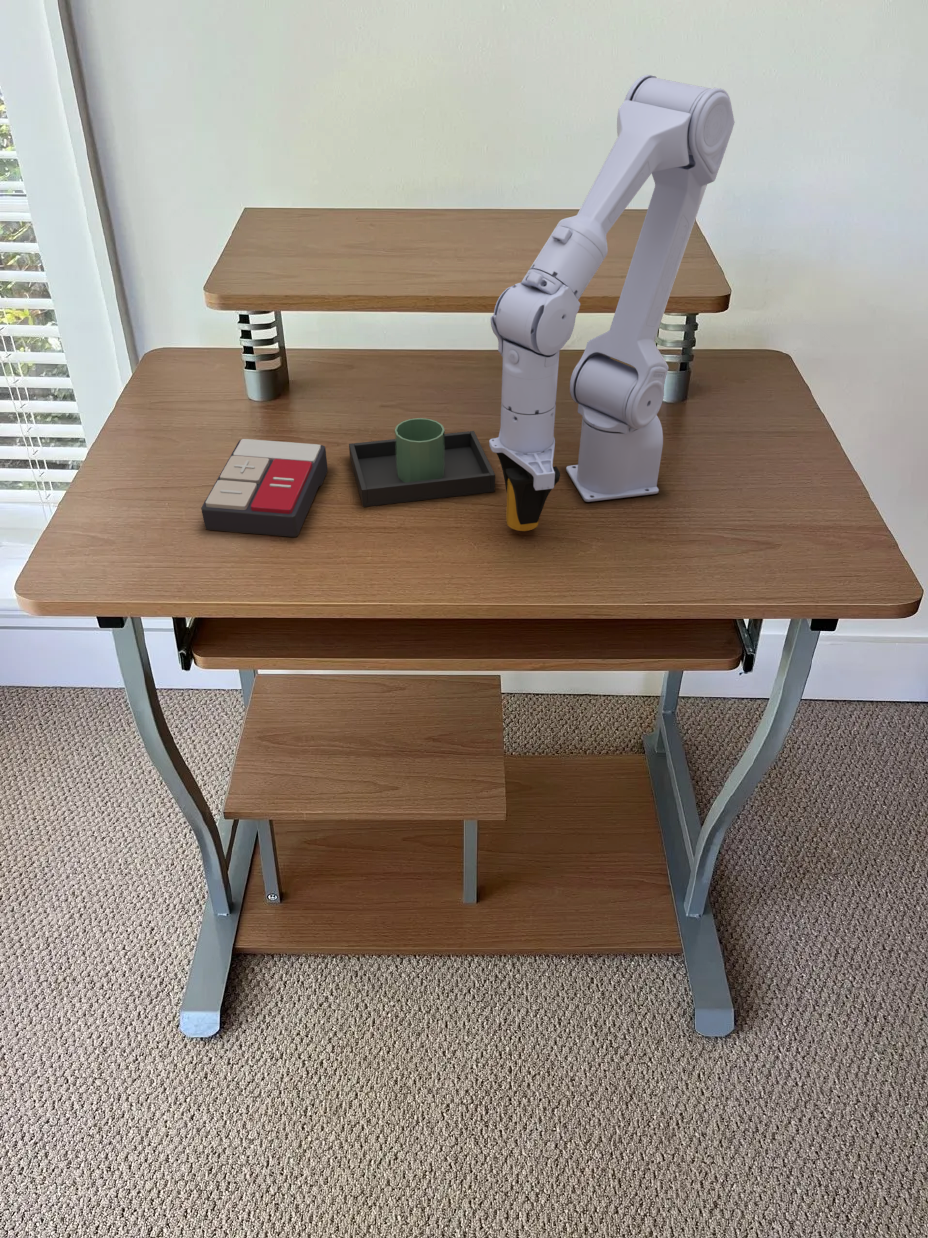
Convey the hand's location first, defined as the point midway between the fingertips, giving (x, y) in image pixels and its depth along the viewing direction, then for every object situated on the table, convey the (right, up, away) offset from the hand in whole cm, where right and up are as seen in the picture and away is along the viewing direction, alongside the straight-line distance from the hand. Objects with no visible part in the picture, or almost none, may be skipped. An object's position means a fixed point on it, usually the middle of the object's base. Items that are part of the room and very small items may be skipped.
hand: (523, 511), depth 112 cm
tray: (-12, +6, +11) cm, 17 cm away
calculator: (-30, +2, +7) cm, 31 cm away
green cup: (-12, +6, +11) cm, 17 cm away
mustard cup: (0, -1, +1) cm, 1 cm away
